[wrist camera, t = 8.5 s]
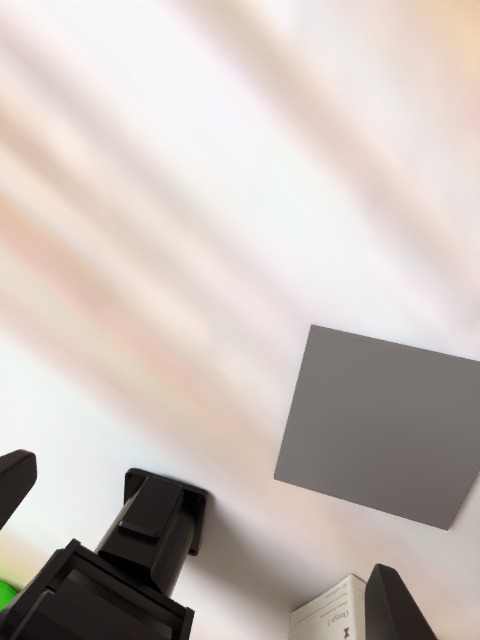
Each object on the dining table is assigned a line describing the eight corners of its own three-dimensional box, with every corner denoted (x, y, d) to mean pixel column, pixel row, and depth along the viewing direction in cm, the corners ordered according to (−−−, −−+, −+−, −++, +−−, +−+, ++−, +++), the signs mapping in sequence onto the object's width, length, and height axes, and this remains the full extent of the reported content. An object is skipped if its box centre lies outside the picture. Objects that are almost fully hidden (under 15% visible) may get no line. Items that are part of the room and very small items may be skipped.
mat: (444, 522, 21) (447, 530, 21) (274, 472, 23) (273, 478, 22) (521, 370, 17) (527, 376, 17) (311, 324, 19) (310, 327, 19)
